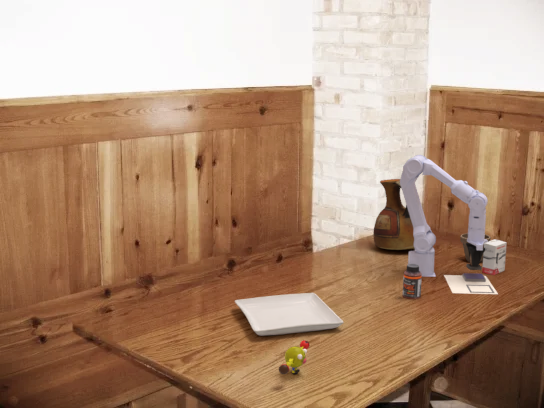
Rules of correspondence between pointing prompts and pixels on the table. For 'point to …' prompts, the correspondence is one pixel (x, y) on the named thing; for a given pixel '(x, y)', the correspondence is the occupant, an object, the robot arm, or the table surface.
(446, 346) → the table surface
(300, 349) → the toy figure
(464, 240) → the flower pot
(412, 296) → the supplement bottle
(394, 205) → the ceramic pitcher
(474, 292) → the board
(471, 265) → the stamp
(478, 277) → the ink pad
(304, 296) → the square plate
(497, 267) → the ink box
